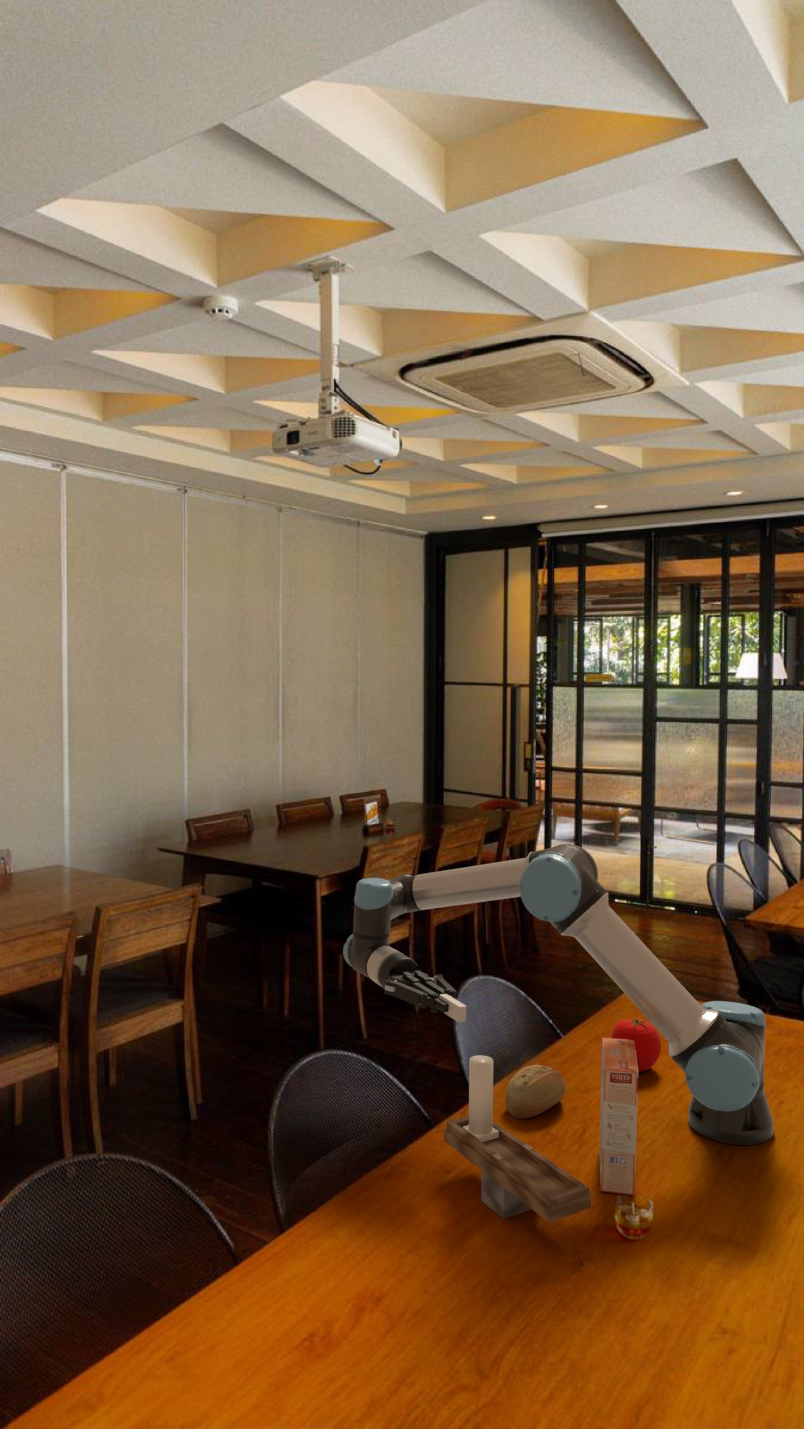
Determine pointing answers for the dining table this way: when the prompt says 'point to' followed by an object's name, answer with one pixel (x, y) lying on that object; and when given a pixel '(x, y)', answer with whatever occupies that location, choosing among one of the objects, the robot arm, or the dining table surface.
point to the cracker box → (618, 1116)
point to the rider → (481, 1099)
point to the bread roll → (534, 1091)
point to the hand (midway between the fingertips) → (462, 1014)
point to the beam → (518, 1175)
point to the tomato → (640, 1040)
